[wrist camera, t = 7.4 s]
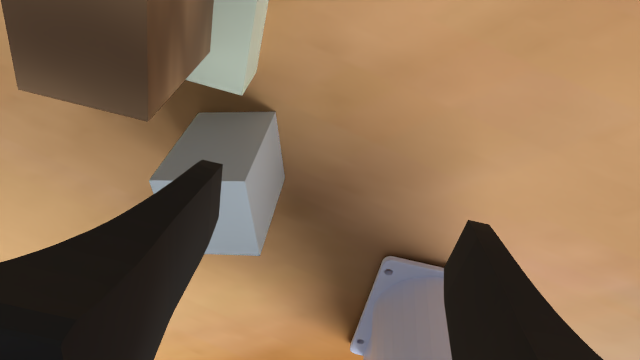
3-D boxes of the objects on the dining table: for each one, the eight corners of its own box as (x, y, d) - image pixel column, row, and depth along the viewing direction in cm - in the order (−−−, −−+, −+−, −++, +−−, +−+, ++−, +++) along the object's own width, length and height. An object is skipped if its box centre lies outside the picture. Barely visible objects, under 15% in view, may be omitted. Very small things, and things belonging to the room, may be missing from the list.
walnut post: (210, 51, 19) (148, 121, 14) (113, 27, 19) (18, 89, 14) (217, -54, 17) (146, -14, 12) (107, -83, 17) (-10, -54, 12)
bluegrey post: (285, 177, 25) (259, 255, 21) (214, 177, 26) (173, 252, 21) (275, 111, 23) (244, 181, 18) (198, 112, 24) (148, 180, 19)
